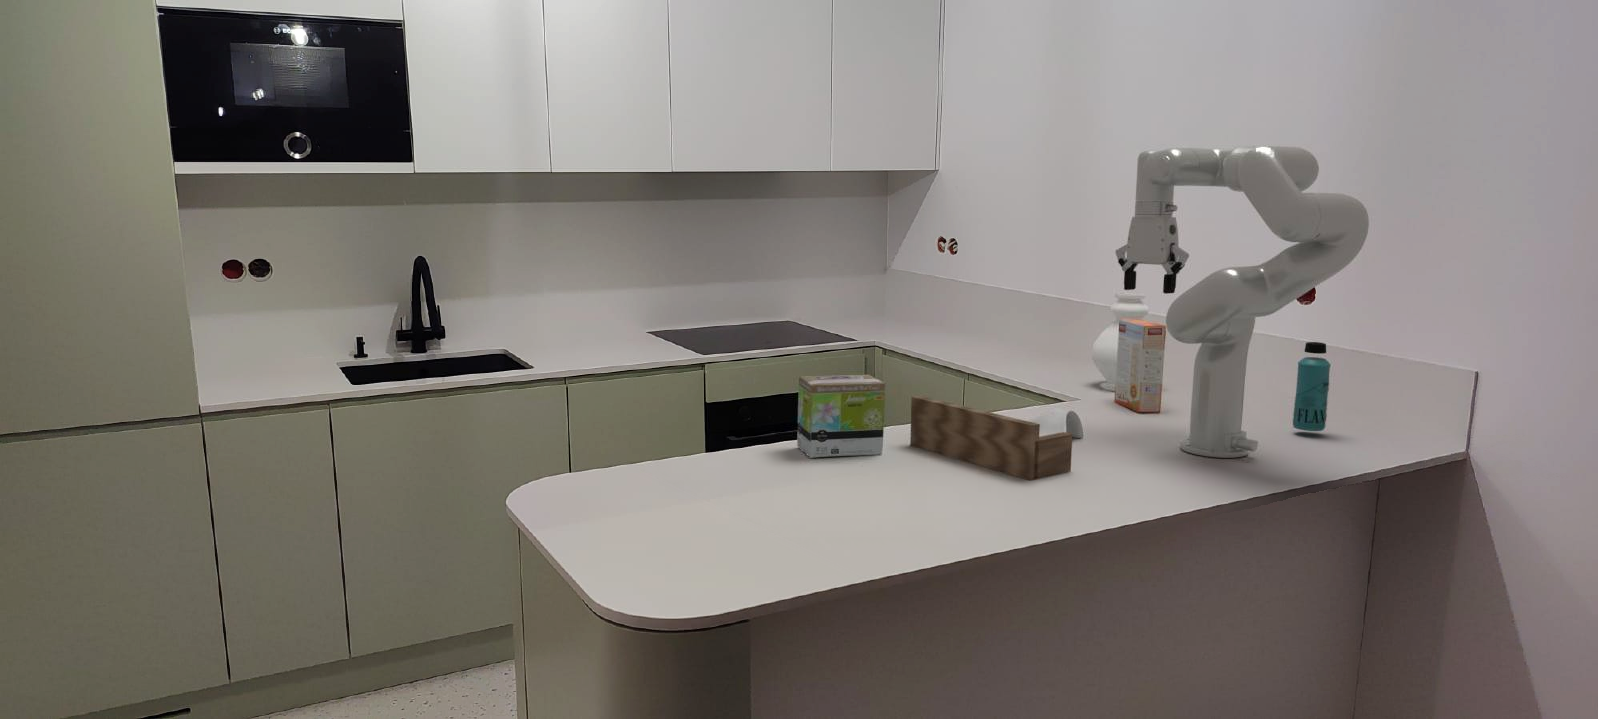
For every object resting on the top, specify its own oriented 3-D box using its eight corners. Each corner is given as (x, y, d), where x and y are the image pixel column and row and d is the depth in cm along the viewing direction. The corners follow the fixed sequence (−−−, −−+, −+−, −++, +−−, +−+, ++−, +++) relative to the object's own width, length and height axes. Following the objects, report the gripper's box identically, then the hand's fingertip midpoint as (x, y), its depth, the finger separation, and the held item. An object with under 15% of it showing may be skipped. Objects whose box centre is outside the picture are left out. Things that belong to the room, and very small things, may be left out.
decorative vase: (1130, 380, 286) (1135, 290, 282) (1175, 391, 270) (1181, 296, 266) (1076, 384, 280) (1080, 292, 276) (1119, 396, 263) (1124, 298, 259)
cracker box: (1162, 413, 243) (1167, 324, 240) (1137, 413, 242) (1142, 325, 239) (1136, 401, 257) (1141, 317, 253) (1113, 401, 256) (1118, 318, 253)
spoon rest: (1047, 463, 197) (1049, 427, 196) (992, 454, 204) (994, 418, 203) (1098, 441, 215) (1100, 407, 214) (1046, 433, 223) (1047, 400, 222)
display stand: (1070, 471, 191) (1073, 418, 189) (1029, 480, 184) (1032, 425, 183) (949, 437, 217) (951, 391, 215) (910, 445, 210) (911, 396, 209)
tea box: (810, 460, 198) (811, 384, 196) (796, 447, 208) (797, 375, 205) (884, 455, 202) (885, 380, 200) (867, 443, 212) (868, 372, 209)
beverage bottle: (1290, 436, 220) (1298, 343, 217) (1292, 430, 226) (1299, 339, 223) (1324, 439, 217) (1333, 345, 214) (1325, 433, 223) (1333, 341, 220)
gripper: (1200, 210, 213) (1195, 293, 215) (1129, 209, 227) (1125, 287, 229) (1179, 211, 208) (1174, 295, 211) (1108, 209, 222) (1104, 289, 225)
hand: (1148, 291), depth 220 cm, fingers open, 9 cm apart
